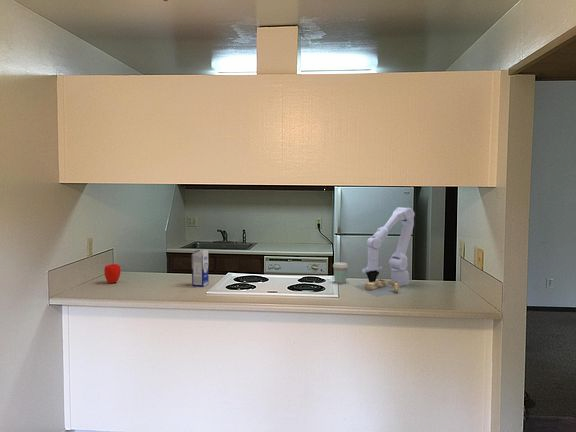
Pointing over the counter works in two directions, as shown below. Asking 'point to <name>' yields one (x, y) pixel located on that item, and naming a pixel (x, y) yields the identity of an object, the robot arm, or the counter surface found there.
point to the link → (375, 284)
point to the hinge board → (380, 291)
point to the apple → (112, 273)
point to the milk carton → (200, 268)
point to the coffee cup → (340, 272)
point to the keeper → (394, 286)
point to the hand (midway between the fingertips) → (371, 284)
